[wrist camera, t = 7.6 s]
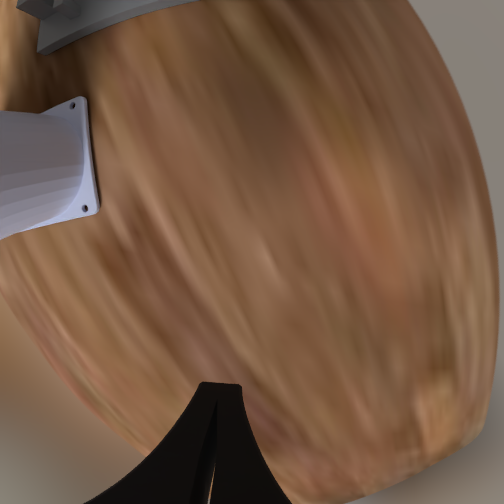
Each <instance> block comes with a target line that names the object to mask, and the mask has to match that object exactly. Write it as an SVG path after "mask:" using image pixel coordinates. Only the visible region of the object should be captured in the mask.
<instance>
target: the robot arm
mask: <svg viewBox="0 0 504 504" xmlns="http://www.w3.org/2000/svg"><path fill="white" fill-rule="evenodd" d="M74 103H75V107H74V109H73V108H72V107H73V104H74ZM85 205H87V207H88V211H86V210H85ZM99 208H100V205H99V199H98V193H97V188H96V181H95V175H94V168H93V161H92V153H91V144H90V134H89V123H88V110H87V99H86V98H85V97H82V96H78V97H76V98H73V99H71V100H69V101H66V102H64V103H62V104H60V105H57V106H55V107H53V108H51V109H49V110H47V111H45V112H43V113H41V114H35V113H25V112H14V111H0V240H1V239H3V238H5V237H8V236H10V235H12V234H15V233H18V232H21V231H25V230H29V229H33V228H37V227H41V226H45V225H49V224H53V223H58V222H62V221H66V220H71V219H75V218H80V217H84V216H89V215H93V214H95V213H97V212H98V211H99ZM214 468H215V471H214ZM213 472H214V478H213V485H212V491H211V498H210V504H292V503H291V502H290V500H289V499H288V498H287V496H286V495H285V494H284V492H283V491H282V489H281V488H280V486H279V484H278V483H277V481H276V480H275V478H274V476H273V475H272V473H271V471H270V469H269V468H268V466H267V464H266V462H265V460H264V458H263V456H262V454H261V452H260V449H259V447H258V445H257V443H256V440H255V438H254V435H253V432H252V430H251V427H250V424H249V421H248V418H247V415H246V411H245V407H244V402H243V396H242V387H241V386H240V385H239V384H226V383H213V382H201V383H200V384H199V386H198V388H197V390H196V392H195V394H194V396H193V397H192V399H191V401H190V402H189V404H188V406H187V407H186V409H185V410H184V412H183V413H182V415H181V416H180V418H179V419H178V420H177V422H176V423H175V425H174V426H173V427H172V429H171V430H170V431H169V432H168V434H167V435H166V436H165V437H164V438H163V440H162V441H161V442H160V443H159V444H158V445H157V447H156V448H155V449H154V450H153V451H152V452H151V453H150V454H149V455H148V456H147V457H146V458H145V459H144V460H143V461H142V462H141V463H140V464H139V465H138V466H137V467H135V468H134V469H133V470H132V471H131V472H130V473H128V474H127V475H126V476H125V477H124V478H122V479H121V480H120V481H118V482H117V483H116V484H114V485H113V486H111V487H110V488H108V489H107V490H105V491H104V492H103V493H101V494H100V495H98V496H96V497H95V498H93V499H91V500H89V501H88V502H86V503H84V504H207V503H208V497H209V491H210V487H211V482H212V477H213Z"/></svg>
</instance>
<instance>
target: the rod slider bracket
mask: <svg viewBox="0 0 504 504" xmlns="http://www.w3.org/2000/svg"><path fill="white" fill-rule="evenodd" d="M194 1H199V0H18V2H17V6H16V8H18V9H20V10H22V11H24V12H26V13H28V14H30V15H32V16H34V17H36V18H38V19H41V21H40V28H39V35H38V44H37V53H40V54H43V55H45V56H46V55H48V54H50V53H52V52H53V51H55V50H57V49H59V48H61V47H63V46H65V45H67V44H69V43H71V42H73V41H75V40H78V39H80V38H82V37H84V36H86V35H89V34H91V33H93V32H96V31H98V30H100V29H103V28H105V27H108V26H111V25H113V24H116V23H119V22H121V21H124V20H127V19H130V18H133V17H136V16H139V15H142V14H146V13H149V12H153V11H156V10H160V9H163V8H167V7H171V6H175V5H180V4H184V3H189V2H194Z"/></svg>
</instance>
